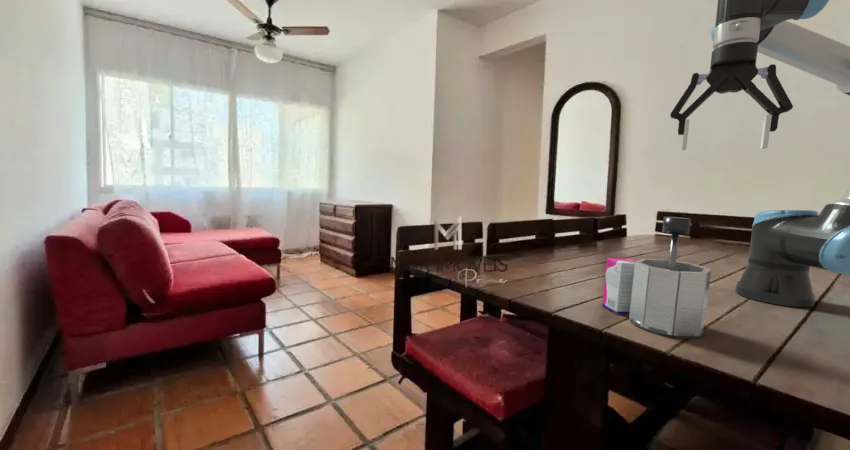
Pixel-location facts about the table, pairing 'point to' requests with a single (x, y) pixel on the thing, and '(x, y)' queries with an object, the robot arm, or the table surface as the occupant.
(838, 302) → the table surface
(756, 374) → the table surface
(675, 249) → the plunger
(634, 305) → the press body
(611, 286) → the supplement box
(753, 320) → the table surface
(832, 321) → the table surface
